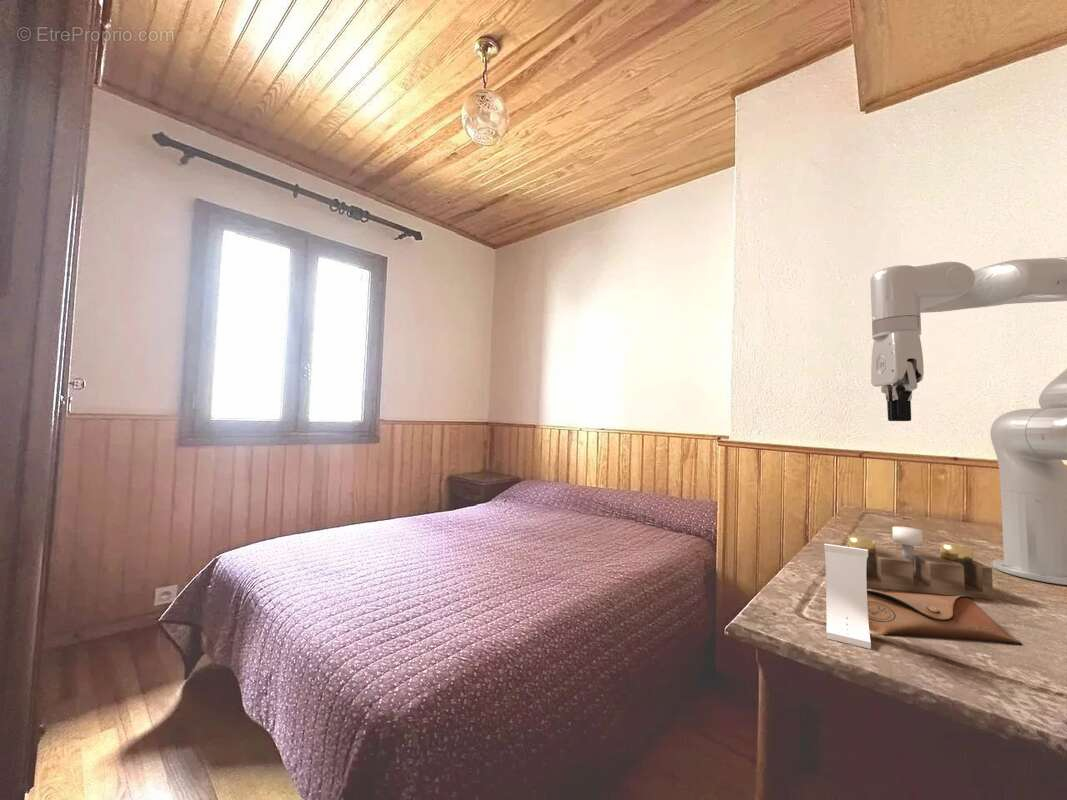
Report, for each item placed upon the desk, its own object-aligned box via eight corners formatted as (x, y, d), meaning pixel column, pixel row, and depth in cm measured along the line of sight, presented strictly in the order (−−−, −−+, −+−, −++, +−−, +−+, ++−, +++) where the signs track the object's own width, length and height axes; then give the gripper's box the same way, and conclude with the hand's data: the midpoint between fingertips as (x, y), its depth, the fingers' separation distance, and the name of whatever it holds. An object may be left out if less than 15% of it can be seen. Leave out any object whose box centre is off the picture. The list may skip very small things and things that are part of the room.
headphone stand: (826, 638, 56) (823, 544, 57) (827, 621, 61) (824, 535, 62) (871, 649, 54) (868, 550, 54) (868, 630, 59) (865, 540, 59)
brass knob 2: (963, 579, 76) (962, 542, 76) (980, 587, 72) (978, 549, 72) (936, 576, 77) (934, 540, 77) (950, 584, 73) (949, 546, 73)
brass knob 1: (870, 570, 80) (869, 536, 80) (880, 578, 76) (879, 541, 76) (845, 568, 81) (844, 534, 81) (854, 575, 77) (853, 539, 77)
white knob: (915, 563, 78) (914, 527, 78) (928, 570, 74) (927, 532, 74) (889, 560, 79) (887, 525, 79) (900, 567, 75) (899, 530, 75)
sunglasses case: (878, 636, 57) (860, 582, 61) (850, 641, 63) (835, 592, 66) (1030, 645, 55) (1001, 589, 59) (987, 650, 61) (963, 598, 65)
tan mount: (959, 582, 78) (958, 554, 78) (993, 599, 70) (991, 568, 70) (837, 571, 83) (837, 544, 83) (856, 586, 75) (855, 556, 75)
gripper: (857, 337, 95) (860, 421, 94) (893, 321, 81) (897, 420, 79) (898, 336, 93) (901, 421, 92) (942, 319, 78) (947, 420, 77)
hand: (899, 420), depth 86 cm, fingers closed
